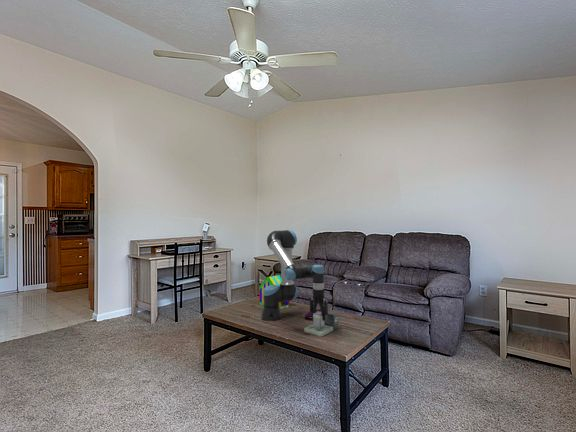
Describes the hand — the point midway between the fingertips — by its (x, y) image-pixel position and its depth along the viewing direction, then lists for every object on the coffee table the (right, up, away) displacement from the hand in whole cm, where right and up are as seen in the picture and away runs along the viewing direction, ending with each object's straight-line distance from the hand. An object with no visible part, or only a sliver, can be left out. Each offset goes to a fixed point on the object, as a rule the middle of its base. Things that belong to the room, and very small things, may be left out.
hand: (318, 324), depth 215 cm
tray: (0, -5, 0) cm, 5 cm away
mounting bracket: (0, -5, +26) cm, 26 cm away
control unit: (+9, -5, +7) cm, 12 cm away
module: (0, -3, 0) cm, 3 cm away
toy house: (-32, -5, +63) cm, 71 cm away
